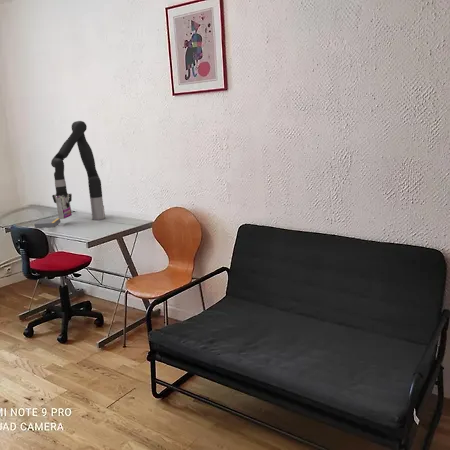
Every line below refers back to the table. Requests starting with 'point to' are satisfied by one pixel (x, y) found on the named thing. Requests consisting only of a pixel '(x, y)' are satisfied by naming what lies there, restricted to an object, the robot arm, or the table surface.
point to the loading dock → (47, 223)
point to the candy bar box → (63, 207)
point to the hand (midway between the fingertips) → (63, 207)
